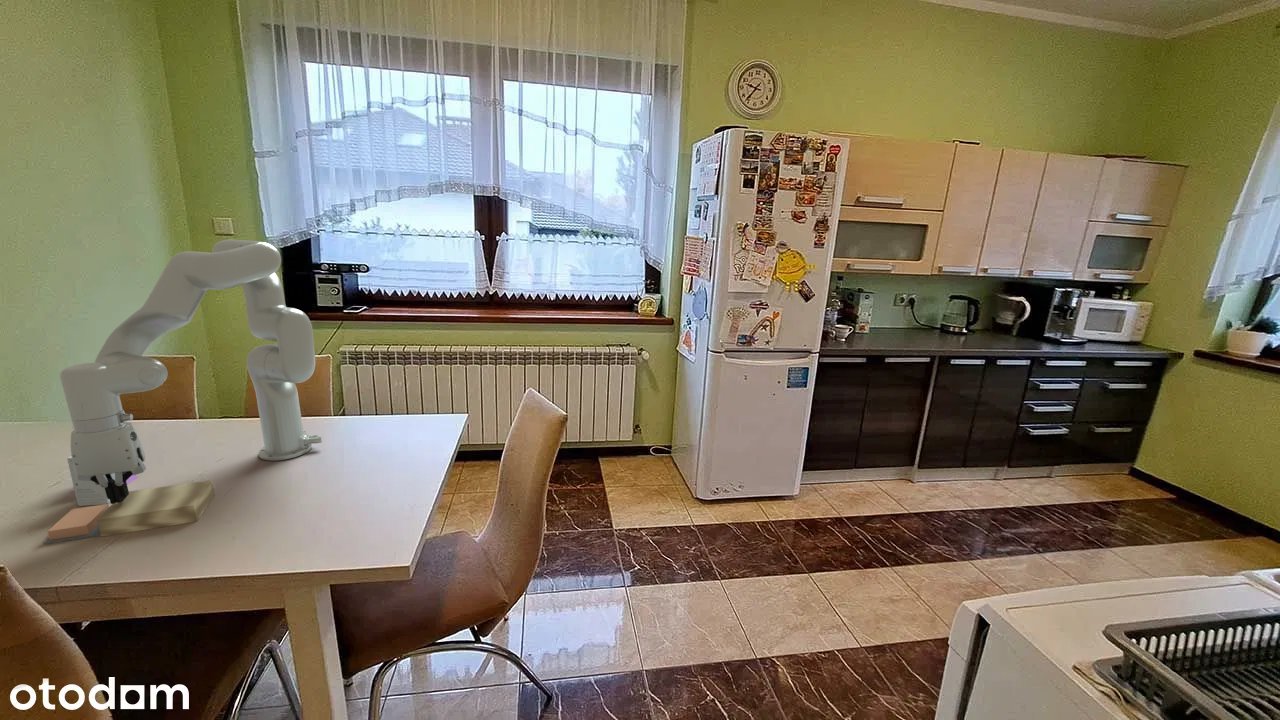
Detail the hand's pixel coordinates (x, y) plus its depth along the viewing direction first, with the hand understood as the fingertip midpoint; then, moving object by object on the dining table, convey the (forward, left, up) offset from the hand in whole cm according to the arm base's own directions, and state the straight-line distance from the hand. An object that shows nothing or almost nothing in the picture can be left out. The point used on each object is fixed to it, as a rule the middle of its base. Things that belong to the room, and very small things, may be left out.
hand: (119, 500), depth 112 cm
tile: (+7, 0, -3) cm, 7 cm away
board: (-6, 0, -5) cm, 8 cm away
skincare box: (+9, -12, -5) cm, 16 cm away
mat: (+6, 0, -5) cm, 8 cm away
